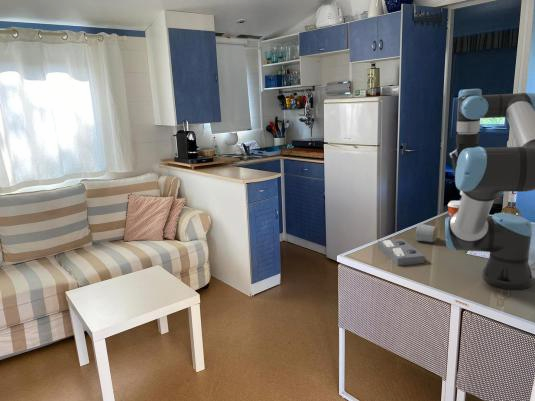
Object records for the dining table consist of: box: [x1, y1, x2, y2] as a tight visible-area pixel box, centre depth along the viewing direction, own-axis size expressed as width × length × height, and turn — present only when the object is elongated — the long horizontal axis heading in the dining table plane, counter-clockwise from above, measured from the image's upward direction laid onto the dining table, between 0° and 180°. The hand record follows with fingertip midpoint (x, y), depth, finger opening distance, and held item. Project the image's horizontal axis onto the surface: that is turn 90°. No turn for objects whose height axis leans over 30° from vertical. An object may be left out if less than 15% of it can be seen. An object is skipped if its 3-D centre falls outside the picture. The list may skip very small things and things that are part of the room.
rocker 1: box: [382, 239, 395, 247], centre depth 176 cm, size 5×3×1 cm, turn 8°
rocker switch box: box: [377, 238, 426, 267], centre depth 171 cm, size 20×11×3 cm, turn 7°
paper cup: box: [447, 200, 461, 217], centre depth 192 cm, size 8×8×14 cm
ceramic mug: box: [415, 223, 438, 243], centre depth 185 cm, size 11×8×8 cm
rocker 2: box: [393, 248, 405, 256], centre depth 166 cm, size 5×3×1 cm, turn 8°
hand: (463, 195), depth 157 cm, fingers closed
